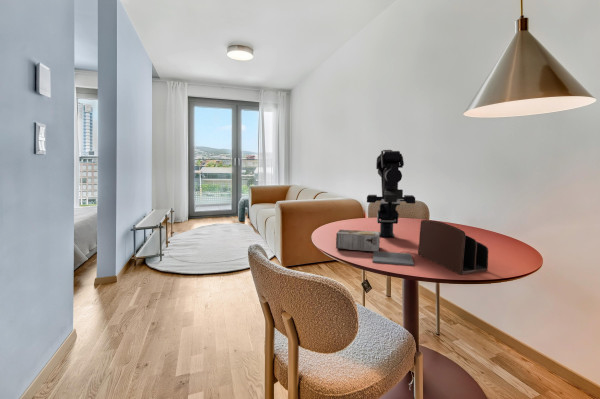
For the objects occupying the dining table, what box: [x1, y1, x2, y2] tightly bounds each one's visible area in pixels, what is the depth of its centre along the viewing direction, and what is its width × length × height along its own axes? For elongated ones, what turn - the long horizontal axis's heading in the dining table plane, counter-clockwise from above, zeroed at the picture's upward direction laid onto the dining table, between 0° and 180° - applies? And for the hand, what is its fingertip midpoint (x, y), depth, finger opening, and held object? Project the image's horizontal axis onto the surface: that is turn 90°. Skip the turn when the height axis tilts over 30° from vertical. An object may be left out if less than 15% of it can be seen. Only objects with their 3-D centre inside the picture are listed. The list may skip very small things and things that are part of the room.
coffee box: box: [335, 229, 381, 252], centre depth 111 cm, size 9×6×16 cm
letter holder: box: [417, 219, 489, 276], centre depth 93 cm, size 10×20×14 cm, turn 14°
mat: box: [372, 251, 415, 267], centre depth 99 cm, size 11×13×1 cm
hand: (389, 219), depth 117 cm, fingers closed
